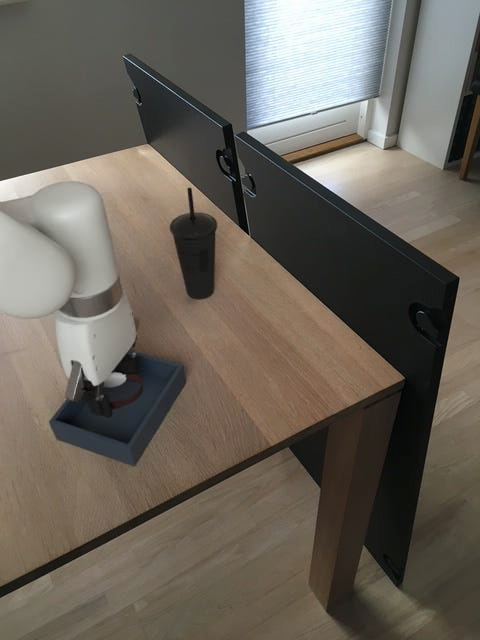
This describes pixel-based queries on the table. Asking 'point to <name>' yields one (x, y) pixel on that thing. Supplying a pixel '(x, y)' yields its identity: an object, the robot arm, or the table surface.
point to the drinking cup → (196, 250)
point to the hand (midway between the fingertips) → (115, 394)
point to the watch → (117, 380)
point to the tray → (123, 413)
